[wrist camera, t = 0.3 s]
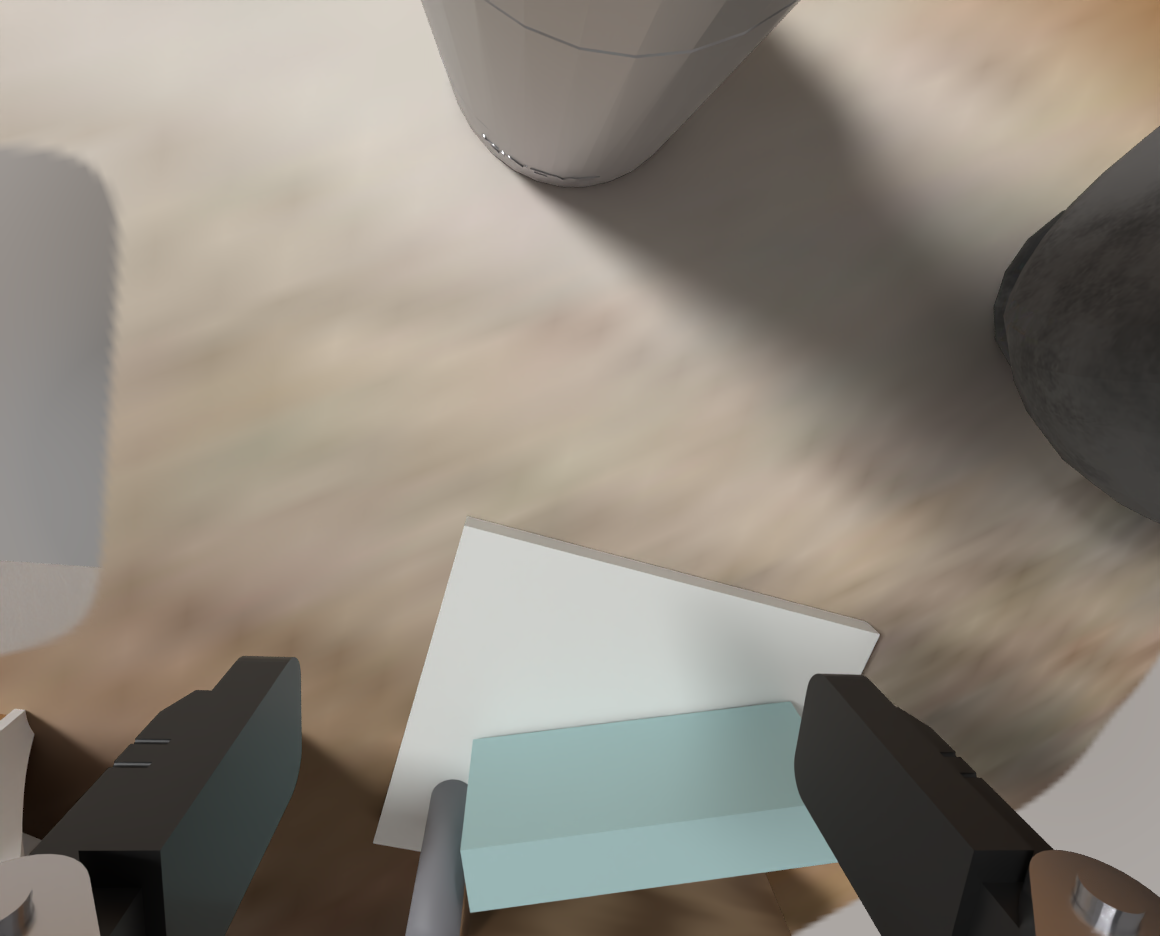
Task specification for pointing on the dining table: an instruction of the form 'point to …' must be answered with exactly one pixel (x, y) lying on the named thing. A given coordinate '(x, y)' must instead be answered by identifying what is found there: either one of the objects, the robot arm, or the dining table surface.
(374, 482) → the dining table surface
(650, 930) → the arm
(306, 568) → the dining table surface
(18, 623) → the architectural model
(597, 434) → the dining table surface
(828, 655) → the board
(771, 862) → the arm
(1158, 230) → the pitcher
